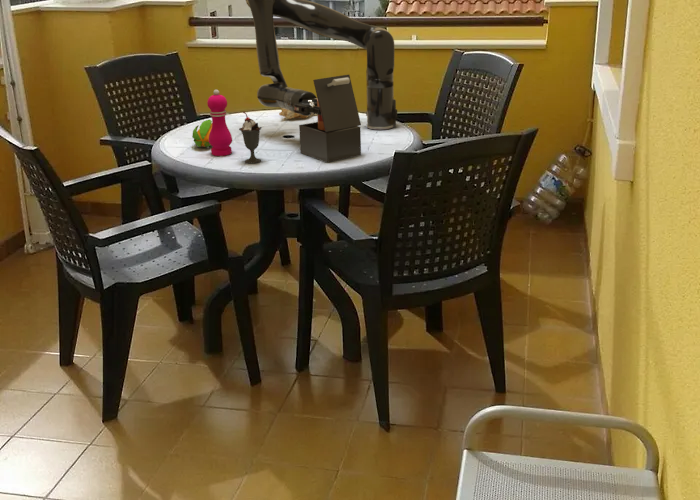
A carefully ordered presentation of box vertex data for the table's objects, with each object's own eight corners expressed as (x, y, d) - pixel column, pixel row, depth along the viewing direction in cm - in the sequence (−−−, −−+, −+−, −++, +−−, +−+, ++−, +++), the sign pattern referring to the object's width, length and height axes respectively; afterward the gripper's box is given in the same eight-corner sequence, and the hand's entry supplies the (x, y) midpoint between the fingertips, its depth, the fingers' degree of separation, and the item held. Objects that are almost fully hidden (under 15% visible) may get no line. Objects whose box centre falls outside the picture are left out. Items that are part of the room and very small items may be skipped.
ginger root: (267, 117, 295) (269, 94, 294) (286, 118, 310) (288, 97, 308) (306, 121, 290) (308, 98, 288) (324, 122, 304) (326, 100, 303)
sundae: (242, 158, 248) (238, 110, 242) (264, 157, 248) (260, 109, 243) (241, 164, 242) (237, 114, 236) (263, 163, 242) (260, 113, 236)
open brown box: (300, 153, 252) (299, 125, 249) (333, 146, 259) (332, 118, 256) (327, 162, 241) (326, 133, 238) (361, 155, 248) (360, 126, 245)
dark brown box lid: (313, 80, 237) (323, 75, 232) (347, 74, 244) (358, 70, 239) (325, 132, 238) (335, 128, 233) (359, 125, 245) (370, 122, 240)
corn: (189, 127, 255) (199, 113, 273) (189, 151, 257) (199, 135, 276) (212, 128, 255) (221, 114, 273) (213, 152, 258) (221, 136, 276)
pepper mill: (228, 156, 250) (223, 91, 243) (206, 156, 252) (200, 91, 244) (236, 150, 257) (231, 87, 249) (214, 150, 258) (209, 87, 251)
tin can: (332, 125, 252) (331, 96, 248) (337, 129, 247) (336, 100, 244) (315, 127, 250) (314, 98, 247) (320, 131, 245) (319, 101, 242)
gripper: (319, 110, 262) (350, 119, 250) (281, 116, 254) (311, 126, 242) (318, 87, 259) (349, 94, 247) (280, 92, 252) (310, 101, 239)
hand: (330, 110), depth 244 cm, fingers closed on tin can, 5 cm apart
